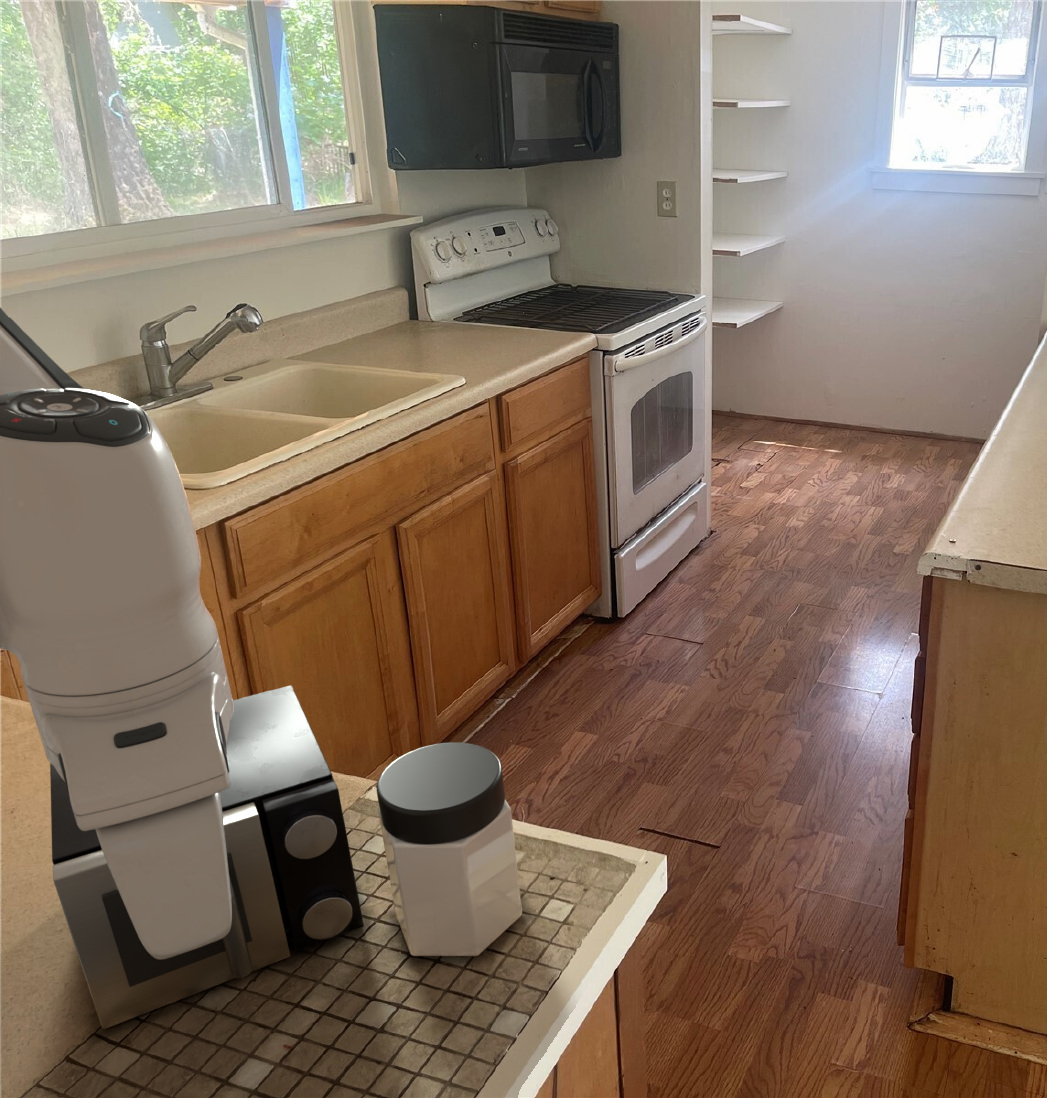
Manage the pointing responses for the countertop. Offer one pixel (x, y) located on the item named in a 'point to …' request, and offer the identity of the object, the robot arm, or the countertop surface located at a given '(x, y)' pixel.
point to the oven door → (148, 983)
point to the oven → (270, 816)
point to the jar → (449, 848)
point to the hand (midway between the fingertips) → (191, 909)
